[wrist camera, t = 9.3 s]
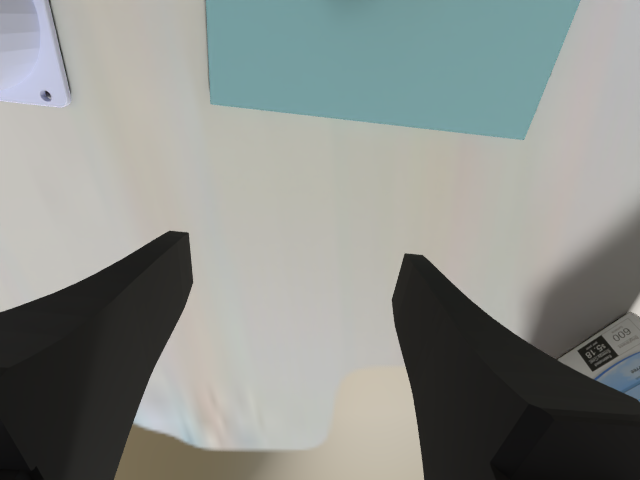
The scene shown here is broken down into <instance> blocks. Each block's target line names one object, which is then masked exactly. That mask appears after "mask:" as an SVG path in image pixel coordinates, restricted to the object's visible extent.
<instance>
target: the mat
mask: <svg viewBox="0 0 640 480" xmlns="http://www.w3.org/2000/svg"><path fill="white" fill-rule="evenodd" d="M579 3H580V0H206V14H207V36H208V58H209V80H210V102H211V104H213V105H222V106H231V107H239V108H248V109H257V110H266V111H274V112H283V113H292V114H301V115H309V116H318V117H327V118H336V119H344V120H353V121H362V122H371V123H379V124H388V125H397V126H406V127H414V128H423V129H432V130H441V131H449V132H458V133H467V134H476V135H485V136H493V137H502V138H511V139H520V140H524V139H525V136H526V134H527V131H528V129H529V126H530V124H531V121H532V119H533V117H534V114H535V112H536V109H537V107H538V104H539V102H540V99H541V97H542V94H543V92H544V89H545V87H546V84H547V82H548V79H549V77H550V75H551V72H552V70H553V67H554V65H555V62H556V60H557V57H558V55H559V52H560V50H561V47H562V45H563V42H564V40H565V37H566V35H567V32H568V30H569V28H570V25H571V23H572V20H573V18H574V15H575V13H576V10H577V8H578V5H579Z"/></svg>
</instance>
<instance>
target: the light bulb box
mask: <svg viewBox="0 0 640 480" xmlns="http://www.w3.org/2000/svg"><path fill="white" fill-rule="evenodd" d="M558 361H560V362H561V363H563V364H565V365H567V366H569V367H571V368H573V369H575V370H576V371H578V372H580V373H582V374H584V375H586V376H588V377H590V378H592V379H594V380H596V381H598V382H601V383H603V384H605V385H607V386H609V387H612V388H614V389H616V390H618V391H620V392H622V393H625V394H627V395H629V396H631V397H633V398H636V399H637V400H638V401H639V402H640V317H639V316H637V315H636V314H634V313H632V312H629V313H627V314H626V315H624V316H623V317H621V318H620V319H618V320H617V321H615V322H614V323H613V324H611V325H609V326H608V327H606V328H605V329H603V330H602V331H600V332H599V333H597V334H596V335H594V336H593V337H591V338H590V339H588V340H587V341H585V342H584V343H582V344H580V345H579V346H577V347H576V348H574V349H573V350H571V351H570V352H568V353H567V354H565V355H564V356H562V357H561V358H559V359H558Z"/></svg>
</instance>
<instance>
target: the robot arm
mask: <svg viewBox="0 0 640 480" xmlns="http://www.w3.org/2000/svg"><path fill="white" fill-rule="evenodd" d="M45 91H48V92H49V93H50V95H51V97H52V99H49V98H48V97H47V96H46V94H45ZM0 101H6V102H15V103H24V104H33V105H42V106H51V107H65V106H68V105H69V104H70V103H71V94H70V90H69V86H68V82H67V77H66V73H65V69H64V65H63V60H62V56H61V52H60V48H59V43H58V39H57V35H56V30H55V26H54V22H53V18H52V13H51V9H50V5H49V1H48V0H0ZM192 284H193V275H192V264H191V254H190V243H189V233H187V232H176V231H169V232H167V233H165V234H163V235H161V236H160V237H158V238H156V239H155V240H153V241H151V242H150V243H148V244H146V245H145V246H143V247H142V248H140V249H138V250H137V251H135V252H133V253H132V254H130V255H128V256H127V257H125V258H123V259H122V260H120V261H118V262H116V263H114V264H112V265H111V266H109V267H107V268H105V269H103V270H101V271H100V272H98V273H96V274H94V275H92V276H90V277H88V278H86V279H84V280H82V281H80V282H78V283H76V284H73V285H71V286H69V287H67V288H64V289H62V290H60V291H57V292H55V293H53V294H50V295H47V296H45V297H42V298H39V299H37V300H34V301H31V302H29V303H26V304H23V305H21V306H18V307H15V308H12V309H9V310H6V311H3V312H0V480H114V477H115V474H116V471H117V468H118V465H119V462H120V459H121V456H122V453H123V450H124V447H125V444H126V441H127V438H128V435H129V432H130V429H131V427H132V424H133V421H134V418H135V416H136V413H137V410H138V407H139V404H140V402H141V399H142V397H143V394H144V391H145V389H146V386H147V383H148V381H149V378H150V376H151V374H152V372H153V369H154V367H155V365H156V363H157V361H158V359H159V357H160V355H161V353H162V351H163V349H164V347H165V345H166V343H167V341H168V339H169V338H170V336H171V334H172V332H173V330H174V328H175V326H176V324H177V322H178V320H179V318H180V316H181V314H182V312H183V310H184V308H185V305H186V302H187V299H188V296H189V293H190V290H191V287H192ZM392 306H393V315H394V322H395V328H396V332H397V336H398V340H399V344H400V347H401V351H402V355H403V359H404V362H405V366H406V370H407V373H408V377H409V381H410V385H411V389H412V393H413V399H414V405H415V412H416V417H417V424H418V432H419V439H420V446H421V454H422V462H423V471H424V480H640V402H639V401H638V400H637V399H636V398H633V397H631V396H629V395H627V394H625V393H622V392H620V391H618V390H616V389H614V388H612V387H609V386H607V385H605V384H603V383H601V382H598V381H596V380H594V379H592V378H590V377H588V376H586V375H584V374H582V373H580V372H578V371H576V370H575V369H573V368H571V367H569V366H567V365H565V364H563V363H561V362H560V361H558V360H556V359H554V358H552V357H551V356H549V355H547V354H545V353H544V352H542V351H541V350H539V349H537V348H536V347H534V346H532V345H531V344H529V343H528V342H526V341H524V340H523V339H521V338H520V337H518V336H517V335H515V334H514V333H512V332H511V331H510V330H508V329H507V328H505V327H504V326H503V325H501V324H500V323H499V322H497V321H496V320H494V319H493V318H492V317H491V316H489V315H488V314H487V313H485V312H484V311H483V310H482V309H481V308H479V307H478V306H477V305H476V304H475V303H473V302H472V301H471V300H470V299H469V298H468V297H467V296H465V295H464V294H463V293H462V292H461V291H460V290H459V289H458V288H457V287H456V286H455V285H454V284H452V283H451V282H450V281H449V280H448V279H447V278H446V277H445V276H444V275H443V274H442V273H441V272H440V271H439V270H438V269H437V268H436V267H435V266H434V265H433V264H432V263H431V262H430V261H429V260H428V259H426V258H425V257H424V256H423V255H416V254H405V255H404V258H403V262H402V265H401V269H400V272H399V276H398V280H397V283H396V287H395V290H394V294H393V298H392Z"/></svg>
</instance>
